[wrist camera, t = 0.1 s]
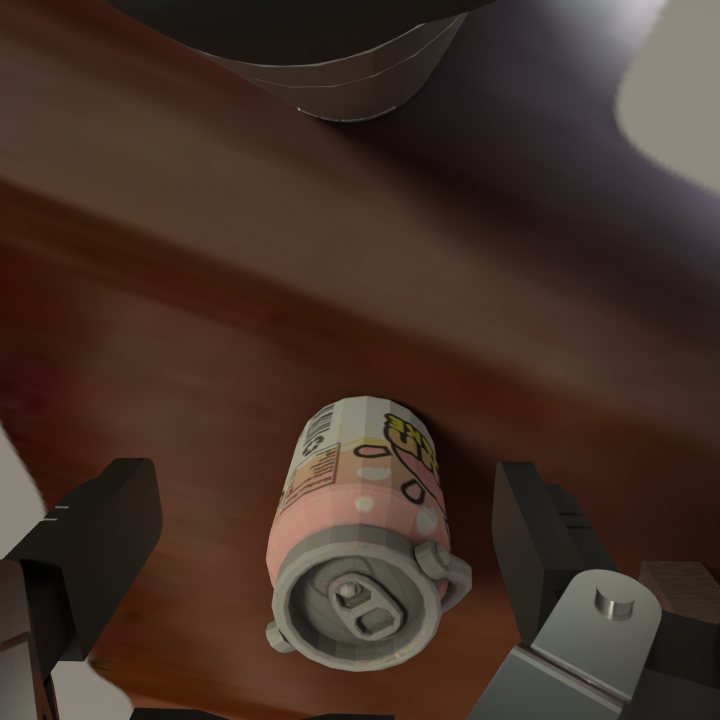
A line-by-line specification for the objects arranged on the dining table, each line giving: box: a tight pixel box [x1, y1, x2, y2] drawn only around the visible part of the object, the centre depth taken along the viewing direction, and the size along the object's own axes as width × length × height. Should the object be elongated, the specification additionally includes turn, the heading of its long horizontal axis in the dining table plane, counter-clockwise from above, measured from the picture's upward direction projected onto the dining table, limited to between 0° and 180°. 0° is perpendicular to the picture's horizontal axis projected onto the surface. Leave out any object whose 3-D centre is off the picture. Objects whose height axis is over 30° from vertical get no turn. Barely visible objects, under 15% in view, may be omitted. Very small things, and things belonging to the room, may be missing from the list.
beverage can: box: [266, 396, 472, 672], centre depth 26 cm, size 9×8×12 cm
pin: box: [638, 561, 720, 625], centre depth 29 cm, size 4×4×12 cm
